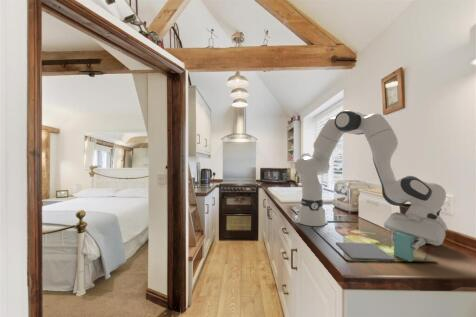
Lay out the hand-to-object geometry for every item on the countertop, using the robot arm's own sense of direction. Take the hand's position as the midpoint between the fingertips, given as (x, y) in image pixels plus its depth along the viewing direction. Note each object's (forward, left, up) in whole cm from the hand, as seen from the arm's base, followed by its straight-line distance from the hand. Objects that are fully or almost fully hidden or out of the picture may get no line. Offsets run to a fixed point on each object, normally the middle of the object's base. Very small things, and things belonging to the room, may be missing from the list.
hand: (402, 244), depth 91 cm
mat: (-5, -12, -5) cm, 14 cm away
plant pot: (-22, +22, -5) cm, 31 cm away
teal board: (0, +1, -5) cm, 5 cm away
